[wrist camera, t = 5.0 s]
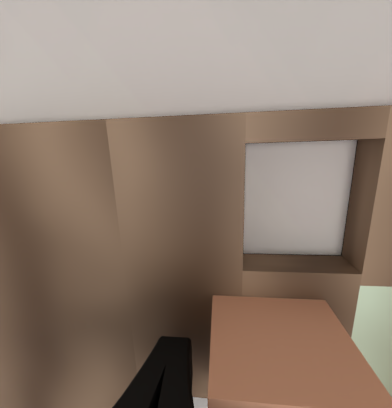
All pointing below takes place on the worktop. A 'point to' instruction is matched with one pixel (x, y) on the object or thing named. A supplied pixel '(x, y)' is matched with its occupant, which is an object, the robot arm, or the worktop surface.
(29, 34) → the worktop surface
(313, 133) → the trap deck
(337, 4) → the worktop surface
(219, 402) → the block
